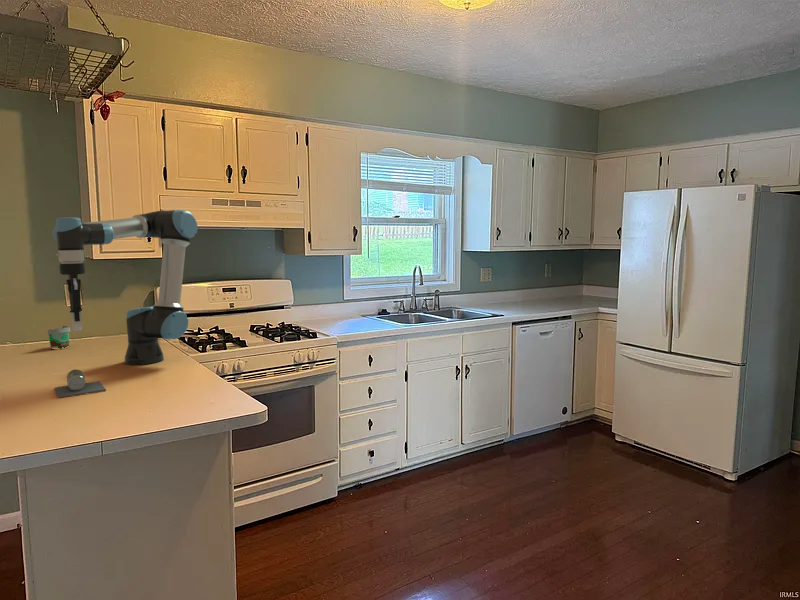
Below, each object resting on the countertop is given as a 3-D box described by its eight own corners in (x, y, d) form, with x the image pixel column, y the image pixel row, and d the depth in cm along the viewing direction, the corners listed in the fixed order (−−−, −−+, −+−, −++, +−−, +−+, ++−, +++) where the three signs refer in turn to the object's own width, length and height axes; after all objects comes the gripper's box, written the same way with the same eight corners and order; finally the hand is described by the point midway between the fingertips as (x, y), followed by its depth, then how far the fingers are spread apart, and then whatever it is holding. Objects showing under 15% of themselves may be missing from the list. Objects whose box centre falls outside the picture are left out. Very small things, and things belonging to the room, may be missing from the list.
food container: (61, 350, 264) (60, 329, 263) (49, 350, 264) (47, 329, 263) (77, 345, 276) (75, 325, 275) (65, 345, 276) (63, 325, 275)
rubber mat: (54, 389, 195) (54, 387, 195) (99, 382, 203) (99, 381, 203) (58, 398, 184) (58, 396, 184) (105, 391, 192) (105, 389, 192)
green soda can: (86, 371, 201) (88, 378, 191) (79, 385, 200) (81, 393, 190) (70, 366, 198) (71, 373, 188) (63, 381, 198) (64, 388, 188)
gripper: (57, 262, 195) (63, 329, 198) (61, 263, 184) (67, 334, 187) (81, 261, 199) (87, 326, 202) (86, 262, 189) (92, 331, 192)
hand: (77, 330), depth 195 cm, fingers closed
